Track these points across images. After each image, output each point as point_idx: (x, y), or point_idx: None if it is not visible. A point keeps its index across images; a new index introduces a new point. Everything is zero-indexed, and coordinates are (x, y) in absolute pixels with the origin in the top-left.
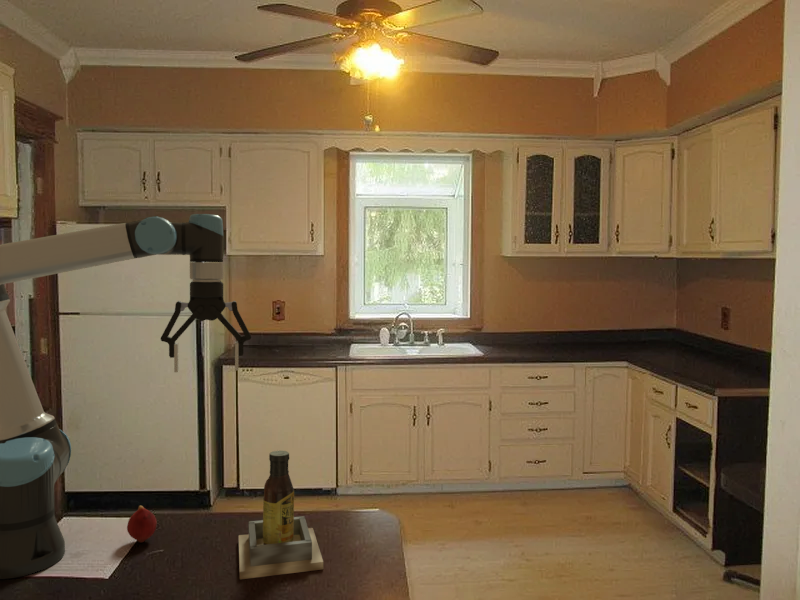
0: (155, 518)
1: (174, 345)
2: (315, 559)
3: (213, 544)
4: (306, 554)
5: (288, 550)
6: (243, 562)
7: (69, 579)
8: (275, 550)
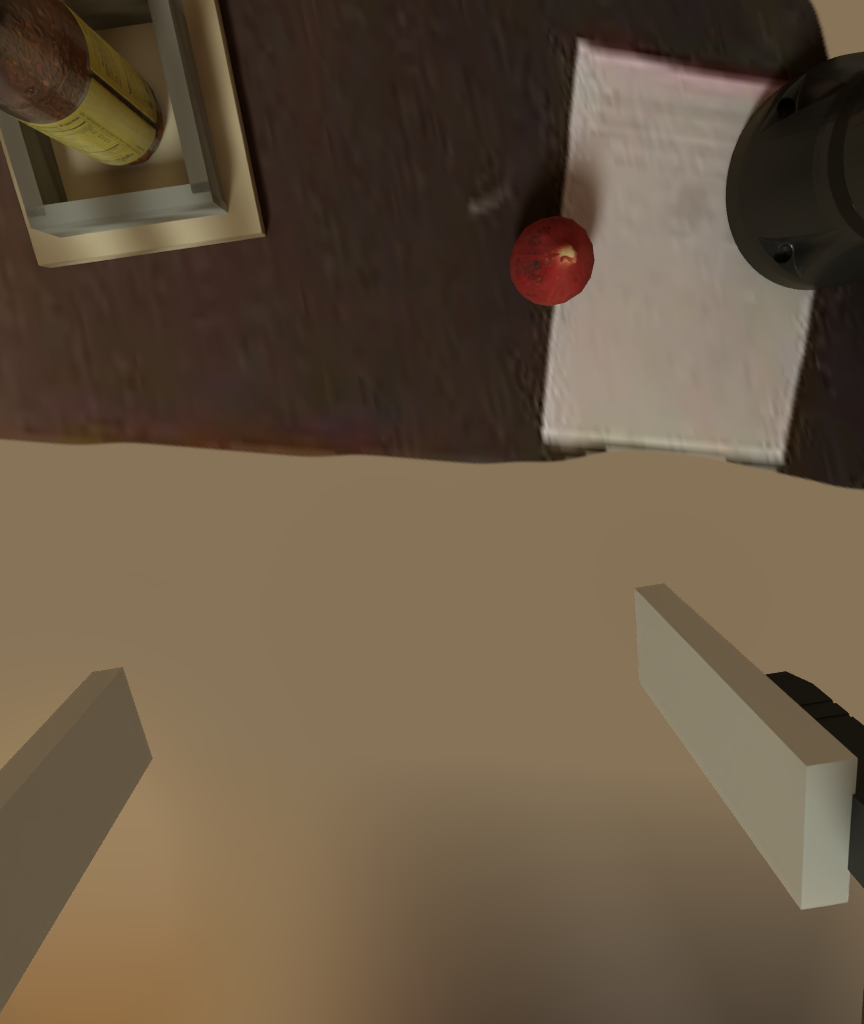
0: (517, 271)
1: (840, 750)
2: None
3: (336, 229)
4: None
5: None
6: (207, 27)
7: (676, 47)
8: None
